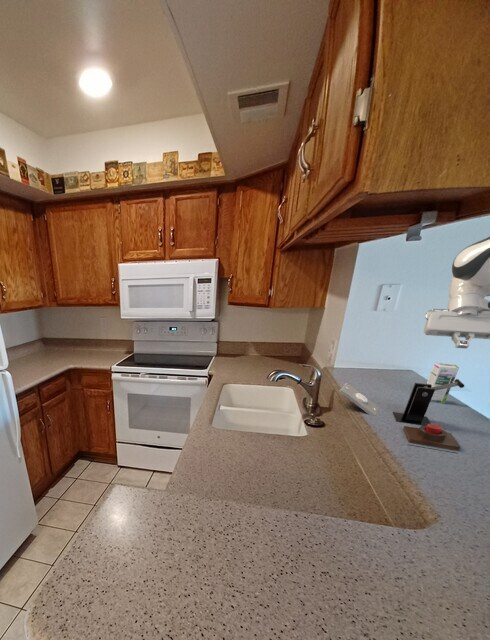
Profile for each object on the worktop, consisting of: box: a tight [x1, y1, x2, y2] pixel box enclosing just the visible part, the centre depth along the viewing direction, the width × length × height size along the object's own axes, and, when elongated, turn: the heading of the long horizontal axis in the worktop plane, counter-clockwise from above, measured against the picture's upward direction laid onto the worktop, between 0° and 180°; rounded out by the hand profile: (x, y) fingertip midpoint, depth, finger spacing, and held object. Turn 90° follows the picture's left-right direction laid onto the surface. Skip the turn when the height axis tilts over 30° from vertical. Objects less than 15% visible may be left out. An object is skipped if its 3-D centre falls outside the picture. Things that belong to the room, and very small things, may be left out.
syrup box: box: [426, 362, 460, 405], centre depth 122 cm, size 6×6×14 cm
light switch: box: [339, 382, 381, 417], centre depth 118 cm, size 8×6×14 cm
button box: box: [402, 425, 461, 454], centre depth 97 cm, size 12×9×4 cm
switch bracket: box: [392, 382, 435, 426], centre depth 107 cm, size 10×8×13 cm
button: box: [425, 423, 443, 434], centre depth 96 cm, size 4×4×2 cm
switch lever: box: [416, 378, 465, 391], centre depth 103 cm, size 11×5×2 cm, turn 65°
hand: (461, 347), depth 103 cm, fingers closed
